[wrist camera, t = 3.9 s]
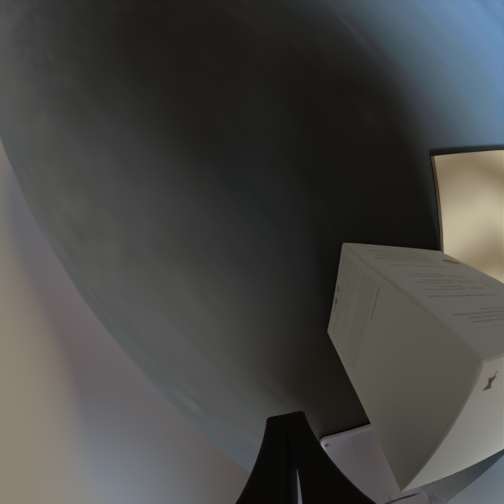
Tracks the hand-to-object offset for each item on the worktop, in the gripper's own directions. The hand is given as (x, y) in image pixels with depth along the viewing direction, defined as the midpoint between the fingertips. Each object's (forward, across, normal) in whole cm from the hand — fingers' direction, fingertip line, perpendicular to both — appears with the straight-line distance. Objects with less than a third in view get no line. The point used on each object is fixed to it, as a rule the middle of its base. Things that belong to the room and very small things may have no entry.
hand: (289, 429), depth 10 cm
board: (+9, -20, +1) cm, 22 cm away
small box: (+10, -8, 0) cm, 13 cm away
